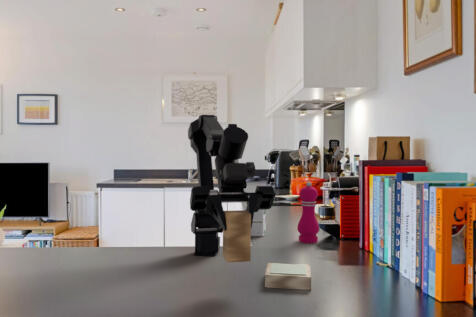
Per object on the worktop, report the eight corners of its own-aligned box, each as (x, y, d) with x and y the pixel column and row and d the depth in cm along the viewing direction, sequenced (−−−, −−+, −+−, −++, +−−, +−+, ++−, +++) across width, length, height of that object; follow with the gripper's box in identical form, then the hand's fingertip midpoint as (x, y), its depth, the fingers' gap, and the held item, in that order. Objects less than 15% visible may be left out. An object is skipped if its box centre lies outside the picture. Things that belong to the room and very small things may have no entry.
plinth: (264, 287, 92) (265, 273, 92) (267, 274, 102) (267, 262, 102) (311, 289, 91) (311, 276, 91) (309, 276, 101) (309, 263, 101)
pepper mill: (320, 240, 143) (321, 181, 142) (317, 244, 136) (318, 182, 135) (299, 238, 145) (300, 180, 145) (295, 242, 138) (296, 182, 138)
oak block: (227, 262, 87) (227, 214, 87) (222, 256, 92) (223, 210, 92) (250, 261, 88) (251, 213, 88) (244, 255, 93) (245, 210, 93)
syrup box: (263, 236, 147) (264, 195, 147) (247, 235, 148) (247, 195, 148) (265, 233, 153) (266, 193, 153) (249, 232, 154) (250, 193, 154)
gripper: (191, 149, 91) (197, 206, 81) (274, 150, 95) (289, 205, 85) (188, 182, 99) (192, 238, 89) (264, 182, 103) (277, 236, 93)
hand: (238, 229), depth 88 cm, fingers closed on oak block, 5 cm apart
